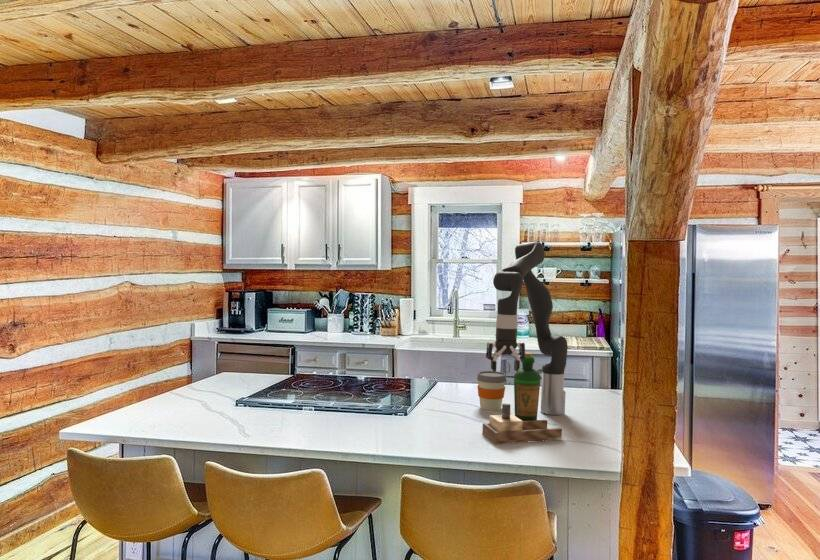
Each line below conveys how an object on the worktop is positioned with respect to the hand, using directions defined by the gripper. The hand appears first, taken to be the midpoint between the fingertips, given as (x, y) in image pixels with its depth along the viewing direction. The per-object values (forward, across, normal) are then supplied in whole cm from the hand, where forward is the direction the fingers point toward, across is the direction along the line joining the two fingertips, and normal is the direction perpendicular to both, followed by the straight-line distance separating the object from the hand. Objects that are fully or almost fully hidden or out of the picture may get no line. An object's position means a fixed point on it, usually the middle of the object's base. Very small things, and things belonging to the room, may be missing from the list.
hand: (505, 370), depth 218 cm
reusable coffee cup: (+24, -11, -41) cm, 49 cm away
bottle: (+25, -17, -17) cm, 34 cm away
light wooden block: (+23, -1, +1) cm, 23 cm away
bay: (+24, -7, +1) cm, 26 cm away
